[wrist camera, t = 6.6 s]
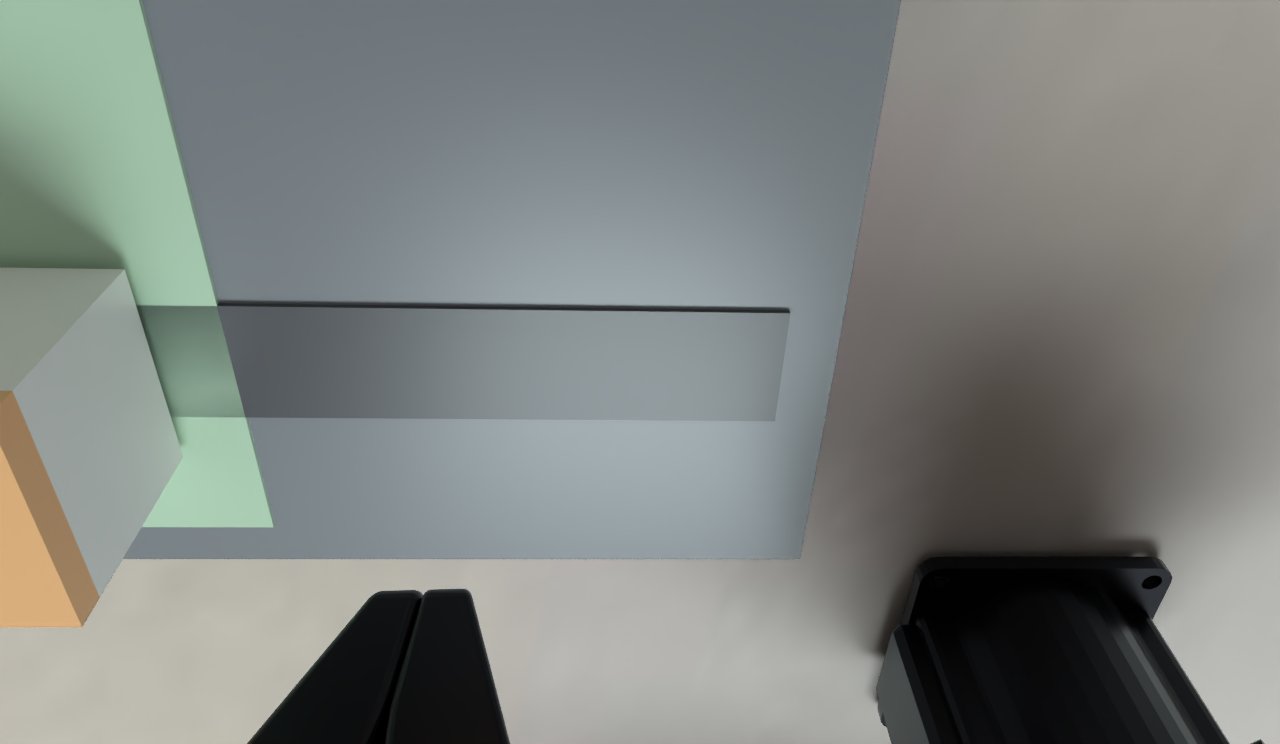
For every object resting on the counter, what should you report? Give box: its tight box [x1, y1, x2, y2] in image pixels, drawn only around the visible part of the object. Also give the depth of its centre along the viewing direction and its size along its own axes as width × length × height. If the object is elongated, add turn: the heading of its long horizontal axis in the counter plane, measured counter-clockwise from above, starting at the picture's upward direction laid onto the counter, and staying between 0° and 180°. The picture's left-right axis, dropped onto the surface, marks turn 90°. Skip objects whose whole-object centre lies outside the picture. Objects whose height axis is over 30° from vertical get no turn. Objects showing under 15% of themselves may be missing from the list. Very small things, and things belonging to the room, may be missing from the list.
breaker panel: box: [0, 0, 901, 559], centre depth 15 cm, size 16×20×3 cm
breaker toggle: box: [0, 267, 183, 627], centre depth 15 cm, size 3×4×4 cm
